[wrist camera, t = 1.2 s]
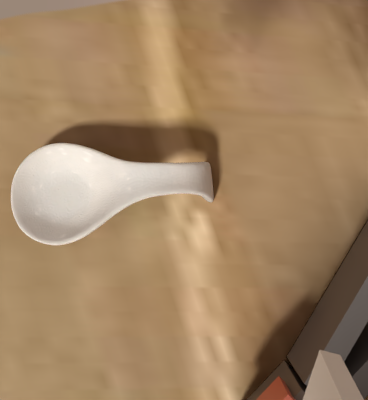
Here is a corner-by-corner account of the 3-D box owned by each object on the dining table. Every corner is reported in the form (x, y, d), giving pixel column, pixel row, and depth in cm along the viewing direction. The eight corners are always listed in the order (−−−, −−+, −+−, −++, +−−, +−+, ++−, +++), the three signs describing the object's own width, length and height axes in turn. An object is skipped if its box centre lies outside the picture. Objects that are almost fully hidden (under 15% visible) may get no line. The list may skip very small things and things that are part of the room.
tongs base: (270, 449, 37) (285, 501, 30) (235, 412, 38) (240, 453, 31) (466, 240, 38) (527, 241, 31) (428, 207, 39) (478, 200, 31)
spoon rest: (27, 248, 42) (-10, 251, 35) (22, 156, 43) (-14, 141, 36) (217, 229, 40) (219, 227, 33) (206, 134, 42) (206, 113, 35)
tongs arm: (302, 367, 38) (323, 396, 31) (278, 351, 38) (294, 377, 31) (405, 192, 39) (448, 183, 32) (381, 178, 39) (419, 166, 32)
